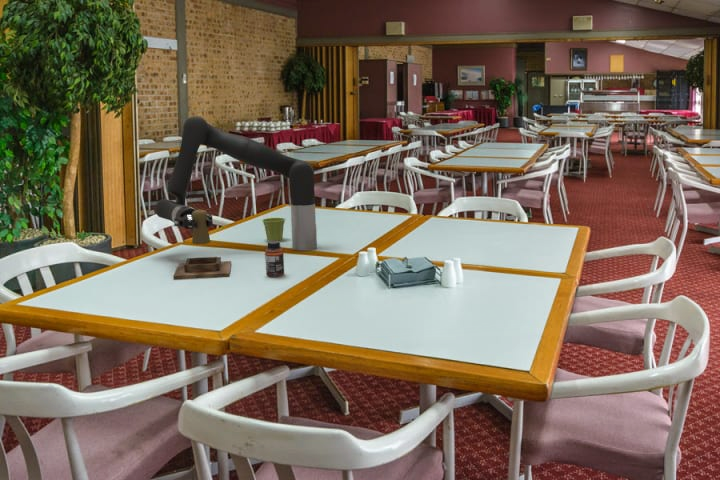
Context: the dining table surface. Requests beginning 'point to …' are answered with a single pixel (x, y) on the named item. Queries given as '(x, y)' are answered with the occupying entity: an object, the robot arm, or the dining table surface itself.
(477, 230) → the dining table surface
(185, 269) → the condiment stand
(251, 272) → the dining table surface
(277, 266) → the supplement bottle
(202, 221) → the cork
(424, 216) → the dining table surface
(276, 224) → the plant pot
